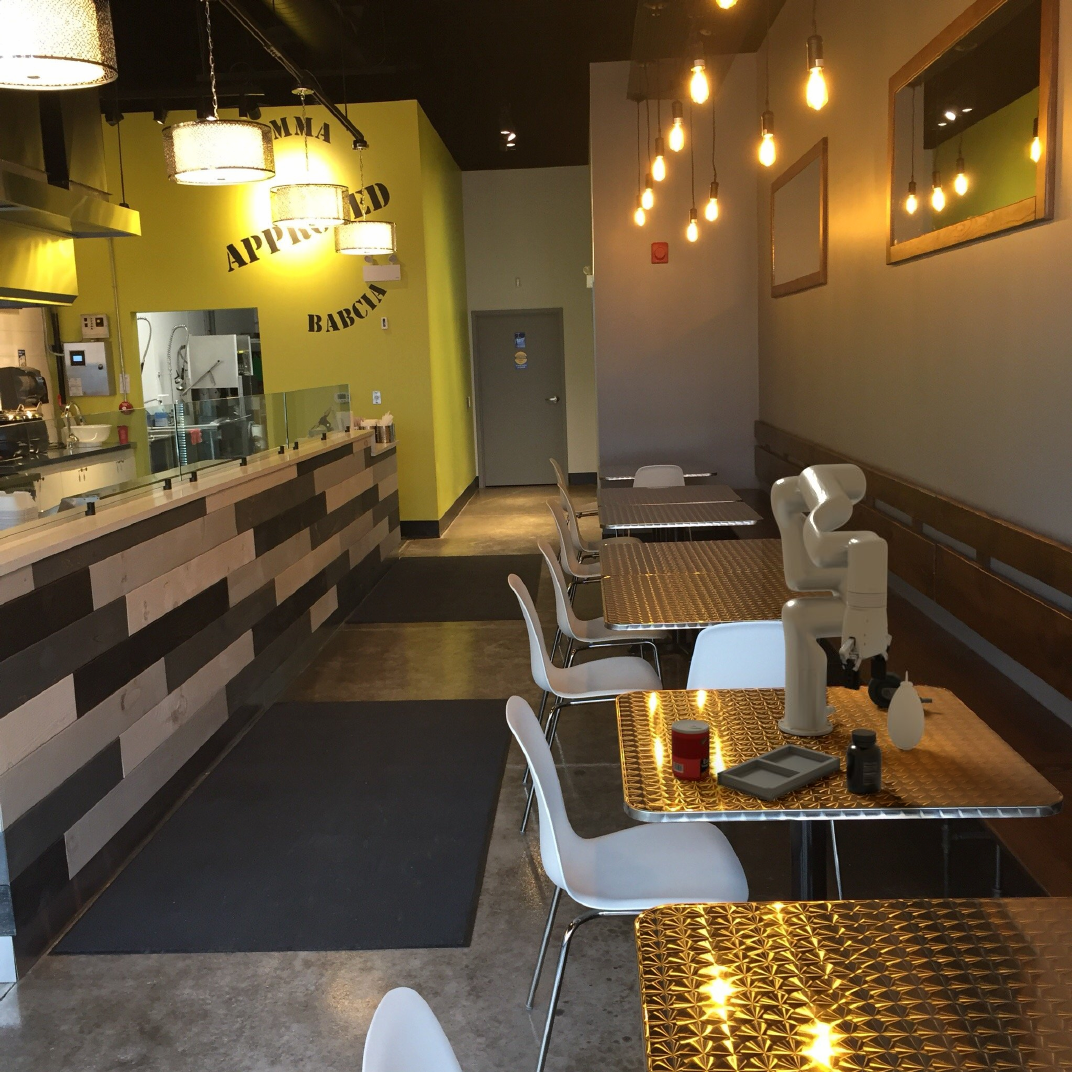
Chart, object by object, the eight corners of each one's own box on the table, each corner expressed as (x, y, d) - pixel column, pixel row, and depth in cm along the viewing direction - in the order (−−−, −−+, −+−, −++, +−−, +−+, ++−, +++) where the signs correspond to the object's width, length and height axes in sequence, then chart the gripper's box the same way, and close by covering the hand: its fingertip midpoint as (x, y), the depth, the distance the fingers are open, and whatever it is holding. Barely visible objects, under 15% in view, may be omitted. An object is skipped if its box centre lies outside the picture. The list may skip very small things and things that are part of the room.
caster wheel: (868, 713, 266) (932, 712, 260) (865, 675, 265) (929, 674, 259) (870, 706, 271) (933, 706, 265) (867, 669, 270) (930, 668, 264)
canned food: (709, 782, 220) (708, 731, 219) (670, 780, 222) (669, 730, 220) (710, 769, 228) (710, 719, 226) (673, 767, 229) (672, 718, 228)
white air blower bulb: (885, 753, 234) (887, 674, 232) (887, 741, 242) (889, 665, 239) (922, 756, 232) (925, 676, 229) (924, 745, 239) (926, 667, 236)
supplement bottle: (883, 785, 216) (884, 729, 214) (878, 797, 210) (880, 739, 208) (848, 781, 219) (849, 725, 217) (843, 793, 213) (844, 735, 211)
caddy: (788, 754, 235) (788, 743, 235) (840, 769, 226) (840, 757, 225) (717, 784, 219) (717, 773, 219) (769, 801, 209) (769, 789, 209)
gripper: (873, 590, 217) (871, 672, 220) (825, 603, 206) (824, 689, 208) (907, 595, 212) (905, 678, 214) (859, 609, 200) (858, 696, 203)
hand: (865, 683), depth 211 cm, fingers open, 9 cm apart
